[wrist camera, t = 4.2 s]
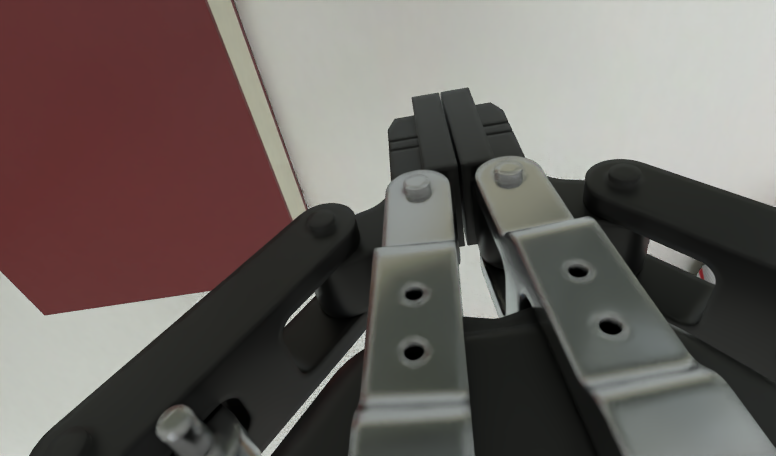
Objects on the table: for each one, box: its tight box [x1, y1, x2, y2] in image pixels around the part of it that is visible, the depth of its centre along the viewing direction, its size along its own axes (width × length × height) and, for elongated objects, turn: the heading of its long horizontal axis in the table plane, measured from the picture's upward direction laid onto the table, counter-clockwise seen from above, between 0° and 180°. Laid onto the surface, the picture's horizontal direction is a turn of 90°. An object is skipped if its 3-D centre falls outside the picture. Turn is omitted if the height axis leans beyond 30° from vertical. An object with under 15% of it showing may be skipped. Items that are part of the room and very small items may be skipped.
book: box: [0, 0, 308, 315], centre depth 19 cm, size 14×19×3 cm
